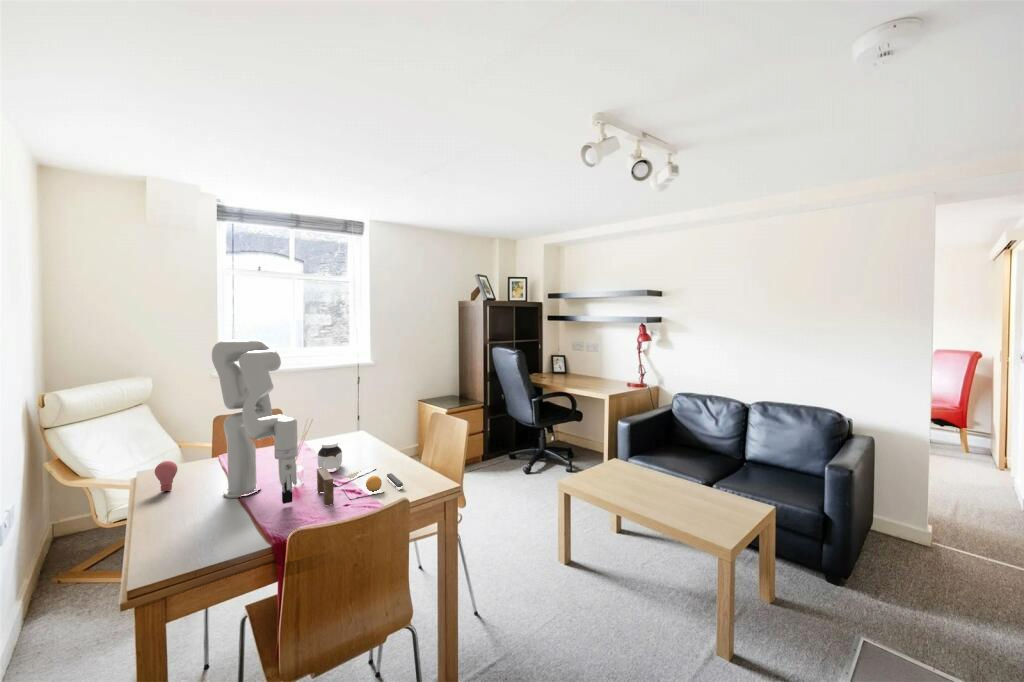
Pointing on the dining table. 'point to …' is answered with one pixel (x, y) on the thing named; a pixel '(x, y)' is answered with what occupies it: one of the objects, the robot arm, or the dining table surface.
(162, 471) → the light bulb
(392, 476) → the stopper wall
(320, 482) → the bridge
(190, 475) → the dining table surface
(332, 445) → the spread jar
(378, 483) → the ball
